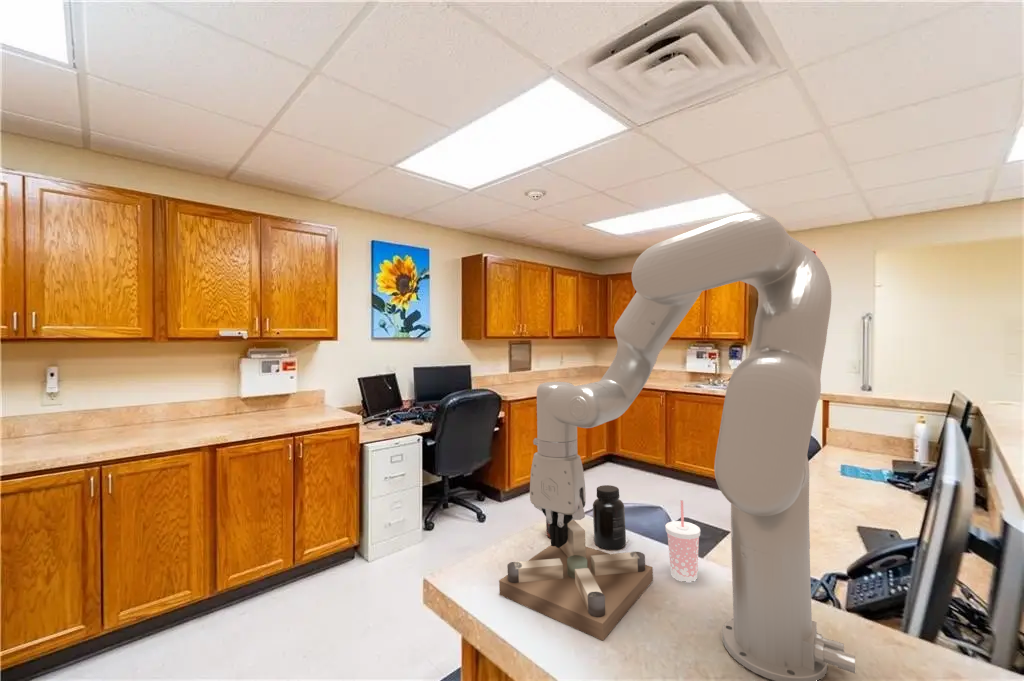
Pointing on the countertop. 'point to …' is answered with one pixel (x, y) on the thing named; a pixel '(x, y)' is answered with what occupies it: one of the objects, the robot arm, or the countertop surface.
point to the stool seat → (579, 587)
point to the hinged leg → (575, 540)
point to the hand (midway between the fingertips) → (559, 544)
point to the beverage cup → (683, 548)
